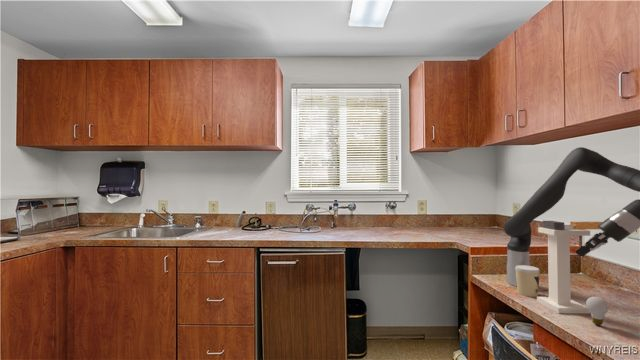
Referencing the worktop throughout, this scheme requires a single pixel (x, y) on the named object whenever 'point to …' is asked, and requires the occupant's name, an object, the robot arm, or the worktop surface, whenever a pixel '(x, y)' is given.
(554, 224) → the putter
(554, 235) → the white pedestal stand
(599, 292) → the worktop surface
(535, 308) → the worktop surface
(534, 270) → the coffee cup
